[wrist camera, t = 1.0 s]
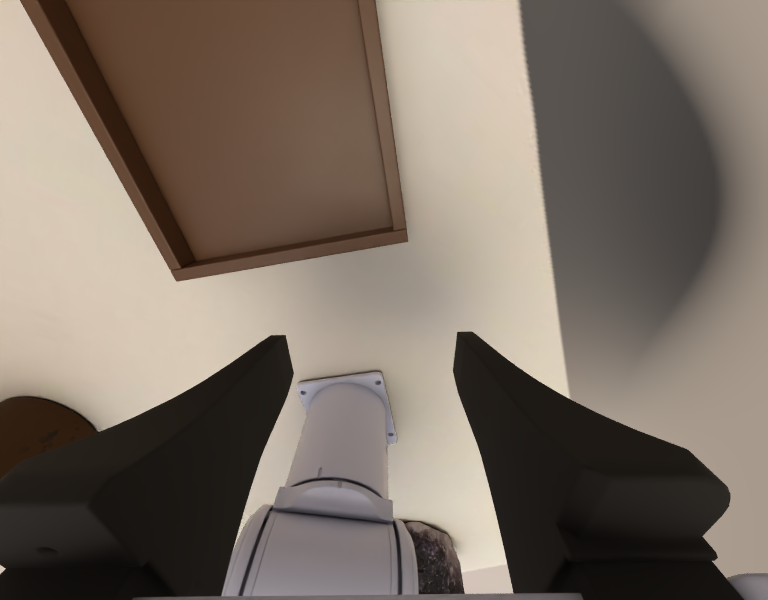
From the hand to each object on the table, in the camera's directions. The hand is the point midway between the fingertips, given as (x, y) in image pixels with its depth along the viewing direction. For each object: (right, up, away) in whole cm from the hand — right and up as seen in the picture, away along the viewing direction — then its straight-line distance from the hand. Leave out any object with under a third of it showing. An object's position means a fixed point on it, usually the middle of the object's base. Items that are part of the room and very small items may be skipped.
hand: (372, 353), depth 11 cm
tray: (-7, +14, +4) cm, 16 cm away
